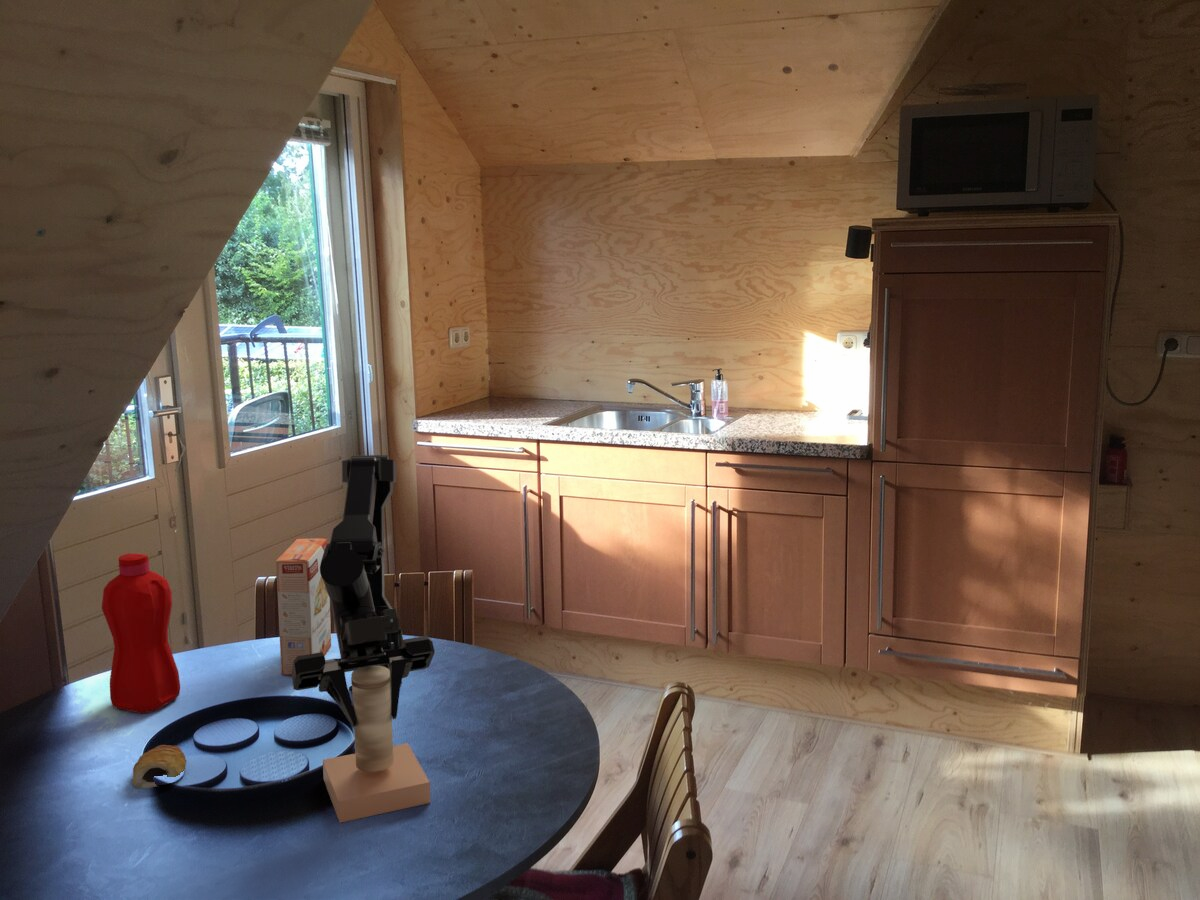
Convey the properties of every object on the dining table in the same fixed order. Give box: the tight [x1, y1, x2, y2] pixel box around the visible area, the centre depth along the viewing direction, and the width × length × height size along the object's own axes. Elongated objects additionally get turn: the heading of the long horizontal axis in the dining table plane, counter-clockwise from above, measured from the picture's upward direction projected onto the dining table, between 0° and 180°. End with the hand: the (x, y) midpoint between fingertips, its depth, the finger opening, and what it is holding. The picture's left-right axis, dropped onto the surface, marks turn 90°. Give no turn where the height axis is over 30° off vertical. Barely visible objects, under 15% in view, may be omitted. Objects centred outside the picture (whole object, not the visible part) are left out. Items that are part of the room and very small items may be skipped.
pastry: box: [130, 744, 187, 789], centre depth 147 cm, size 9×7×4 cm
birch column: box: [350, 666, 394, 772], centre depth 140 cm, size 5×5×13 cm
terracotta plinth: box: [322, 742, 431, 824], centre depth 142 cm, size 12×12×3 cm
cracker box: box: [275, 537, 332, 676], centre depth 184 cm, size 14×6×21 cm, turn 1°
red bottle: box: [101, 552, 181, 714], centre depth 168 cm, size 9×11×25 cm
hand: (374, 721), depth 139 cm, fingers closed on birch column, 5 cm apart
